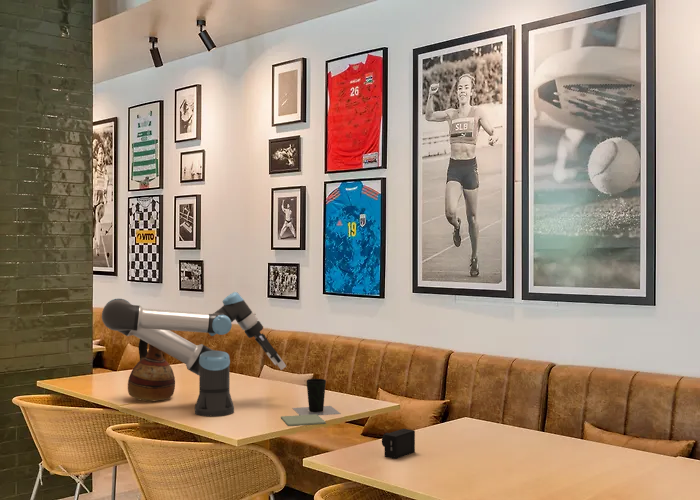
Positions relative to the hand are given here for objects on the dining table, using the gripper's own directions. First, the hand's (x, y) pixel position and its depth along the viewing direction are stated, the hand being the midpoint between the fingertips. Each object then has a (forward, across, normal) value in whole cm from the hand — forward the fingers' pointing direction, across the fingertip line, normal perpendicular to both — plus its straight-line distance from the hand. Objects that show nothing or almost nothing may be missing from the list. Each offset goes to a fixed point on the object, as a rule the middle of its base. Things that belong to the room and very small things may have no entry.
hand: (280, 365), depth 314 cm
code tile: (+18, -21, +1) cm, 28 cm away
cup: (+18, -21, +1) cm, 28 cm away
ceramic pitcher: (-18, +22, +51) cm, 58 cm away
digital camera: (+24, -91, -6) cm, 95 cm away
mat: (+13, -37, +8) cm, 40 cm away
